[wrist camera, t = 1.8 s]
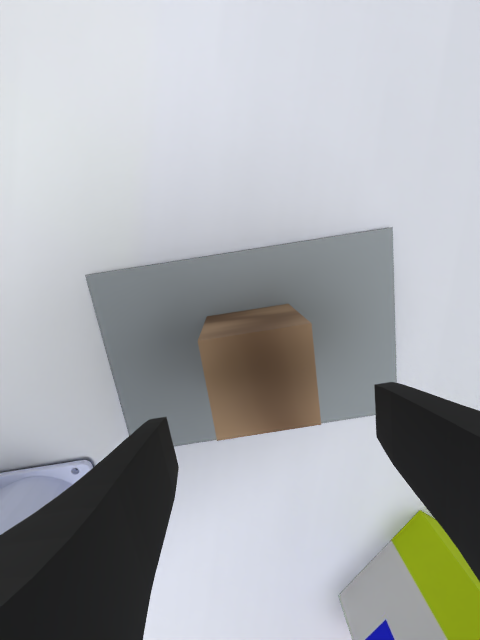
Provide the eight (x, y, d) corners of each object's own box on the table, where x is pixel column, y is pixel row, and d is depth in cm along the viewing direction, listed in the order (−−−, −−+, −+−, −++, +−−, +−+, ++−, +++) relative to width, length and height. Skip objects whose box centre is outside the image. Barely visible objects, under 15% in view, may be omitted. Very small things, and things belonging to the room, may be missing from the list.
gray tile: (135, 449, 19) (133, 453, 19) (87, 274, 17) (84, 275, 16) (394, 409, 19) (397, 411, 19) (389, 227, 17) (393, 227, 16)
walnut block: (220, 391, 18) (217, 440, 13) (206, 316, 17) (197, 340, 12) (296, 379, 18) (321, 424, 13) (288, 303, 17) (311, 323, 12)
